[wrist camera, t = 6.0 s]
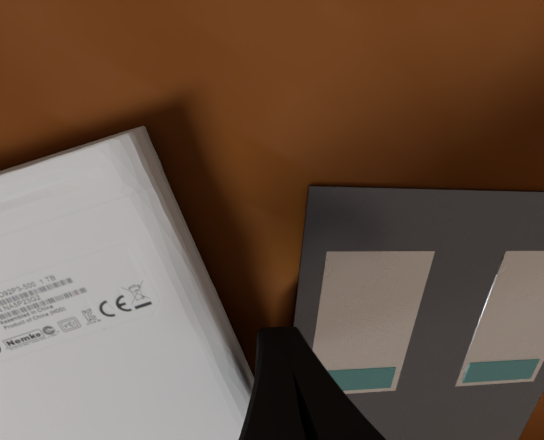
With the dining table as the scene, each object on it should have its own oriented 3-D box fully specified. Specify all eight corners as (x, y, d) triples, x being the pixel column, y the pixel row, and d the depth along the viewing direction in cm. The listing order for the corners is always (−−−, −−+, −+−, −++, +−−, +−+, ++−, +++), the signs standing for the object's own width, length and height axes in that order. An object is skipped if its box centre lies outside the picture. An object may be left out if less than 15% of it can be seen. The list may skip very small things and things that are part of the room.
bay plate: (499, 469, 16) (502, 473, 16) (274, 494, 15) (274, 498, 15) (641, 193, 11) (646, 195, 11) (308, 185, 9) (310, 186, 9)
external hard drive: (83, 501, 13) (-179, 226, 8) (283, 437, 13) (147, 122, 8) (64, 555, 12) (-269, 259, 7) (291, 483, 12) (130, 132, 7)
